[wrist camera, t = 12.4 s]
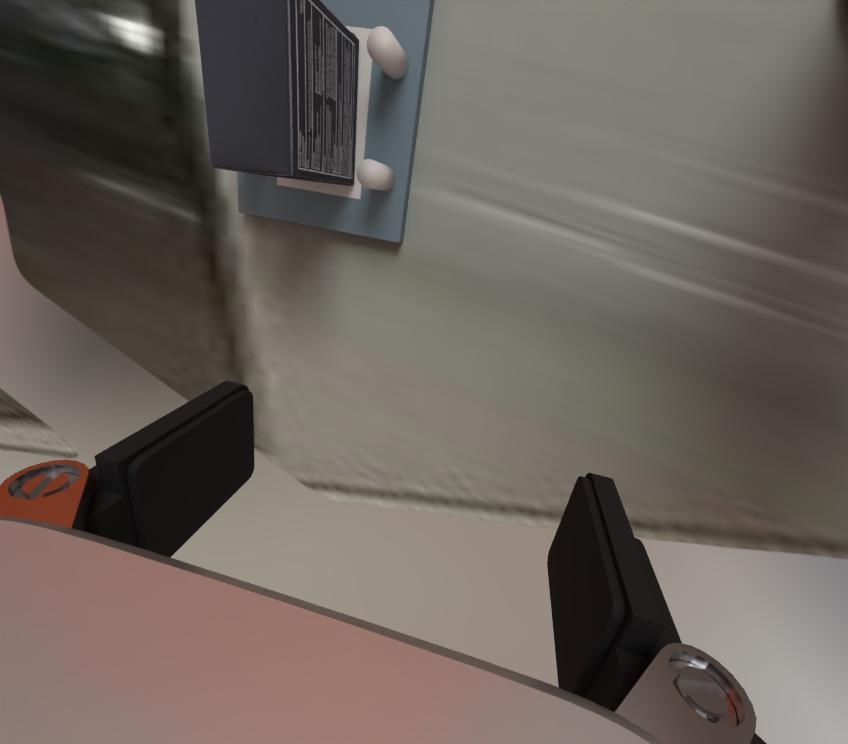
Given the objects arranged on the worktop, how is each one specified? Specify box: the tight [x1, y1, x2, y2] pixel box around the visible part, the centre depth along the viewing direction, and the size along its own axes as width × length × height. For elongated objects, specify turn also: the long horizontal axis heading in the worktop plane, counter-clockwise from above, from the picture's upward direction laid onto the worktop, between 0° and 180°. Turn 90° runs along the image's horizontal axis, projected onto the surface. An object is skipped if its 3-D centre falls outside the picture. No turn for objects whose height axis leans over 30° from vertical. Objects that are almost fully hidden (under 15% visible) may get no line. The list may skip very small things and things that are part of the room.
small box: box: [195, 0, 359, 186], centre depth 28 cm, size 11×6×10 cm, turn 174°
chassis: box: [238, 0, 434, 243], centre depth 32 cm, size 16×18×5 cm
